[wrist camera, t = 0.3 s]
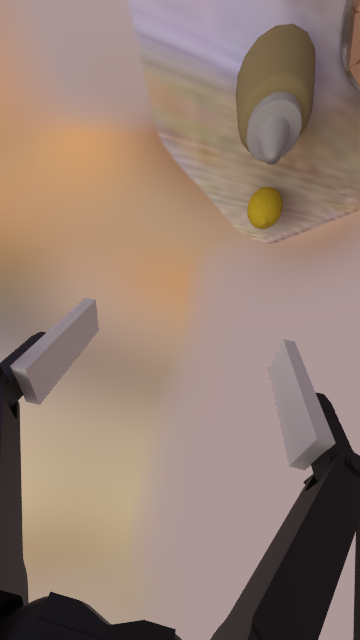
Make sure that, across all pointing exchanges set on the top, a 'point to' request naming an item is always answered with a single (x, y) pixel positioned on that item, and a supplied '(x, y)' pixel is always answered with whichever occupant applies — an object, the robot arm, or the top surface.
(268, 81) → the squeeze bottle
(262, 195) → the lemon
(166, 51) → the top surface
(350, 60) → the flange seat
